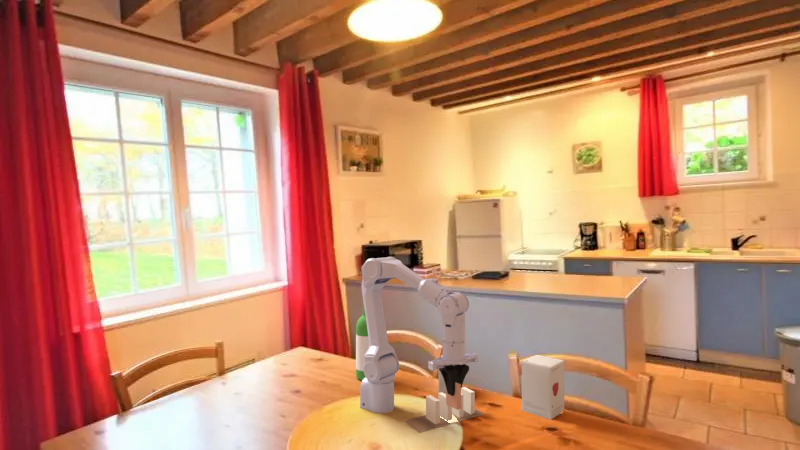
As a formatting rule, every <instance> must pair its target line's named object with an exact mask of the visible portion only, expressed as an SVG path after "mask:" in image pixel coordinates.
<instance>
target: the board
mask: <svg viewBox="0 0 800 450" xmlns="http://www.w3.org/2000/svg"><path fill="white" fill-rule="evenodd" d="M453 415H454V414H453ZM484 415H486V413H485V412H482V411H481V410H479V409H477V408H475V413H474V414H469V413H467V412H466V411H464V410H463V417H460V418H459V417H457V416H456V415H454V416H455V417H456V418H457V420H458V421H459V422H462V421H466V420H469V419H473V418H477V417H480V416H484ZM402 422H404V423H405V424H406V425H408V426H409V427H410V428H411V429H413V430H414V431H416V432H418V433H419V434H421V433H424V432H428V431H430V430H434V429H437V428H442V427H445V426H450V425H451V424H450V423H448V422H447V421H445V420H444V419H442V418H440V423H438V424H434V423H433V422H431V421H430V420H428V419H427V418H426V414H424V415H420V416H416V417H413V418H412V417H411V418H409V419H405V420H403V421H402Z"/></svg>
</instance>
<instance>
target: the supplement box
mask: <svg viewBox="0 0 800 450" xmlns="http://www.w3.org/2000/svg"><path fill="white" fill-rule="evenodd" d="M521 411H522V412H525V413H529V414H531V415H534V416H538V417H541V418H544V419H548V420H552V419H554V418H555V417H557V416H560V415H559V414H560V413H561V412H562V411H564V412H565V360H564V359H559V358H555V357H549V356H545V355H540V354H535V355H533V356H532V355H531V356H530V357H528V358H526V359H523V360H521Z"/></svg>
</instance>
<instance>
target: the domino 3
mask: <svg viewBox="0 0 800 450" xmlns="http://www.w3.org/2000/svg"><path fill="white" fill-rule="evenodd" d="M446 405H448V406H450V407H453V408H455V409H457V410H458V409H461V384H459V383H456V382H455V394H454V396H451V395H449V394H448V393H447V389H446Z"/></svg>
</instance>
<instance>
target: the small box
mask: <svg viewBox="0 0 800 450" xmlns="http://www.w3.org/2000/svg"><path fill="white" fill-rule="evenodd" d="M442 356H443V354H442V355H440V357H442ZM441 392H443V393H444V394H446V385H445V381H444V379H443V376H442V374H441V372H440V370H439V369H438V393H441Z"/></svg>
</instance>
